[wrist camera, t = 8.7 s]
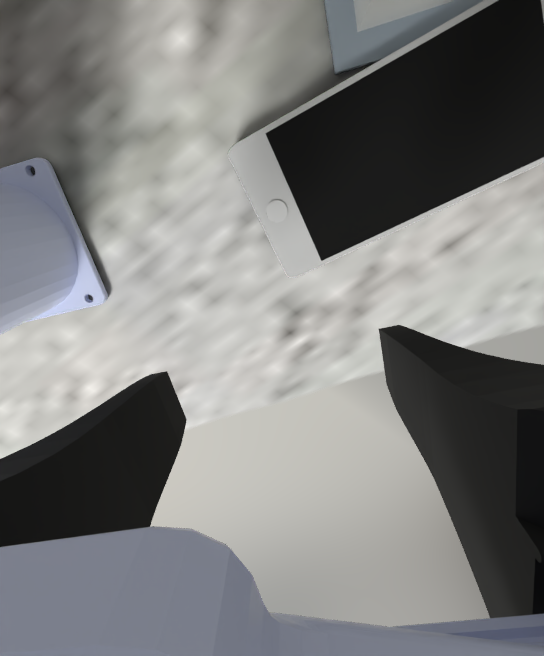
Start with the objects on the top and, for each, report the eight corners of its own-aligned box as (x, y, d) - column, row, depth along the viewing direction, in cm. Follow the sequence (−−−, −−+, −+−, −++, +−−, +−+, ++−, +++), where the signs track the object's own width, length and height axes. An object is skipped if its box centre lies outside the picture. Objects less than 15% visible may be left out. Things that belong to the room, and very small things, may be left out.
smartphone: (226, 150, 17) (224, 149, 16) (563, -44, 14) (582, -57, 13) (288, 276, 20) (289, 282, 19) (583, 139, 16) (599, 138, 16)
